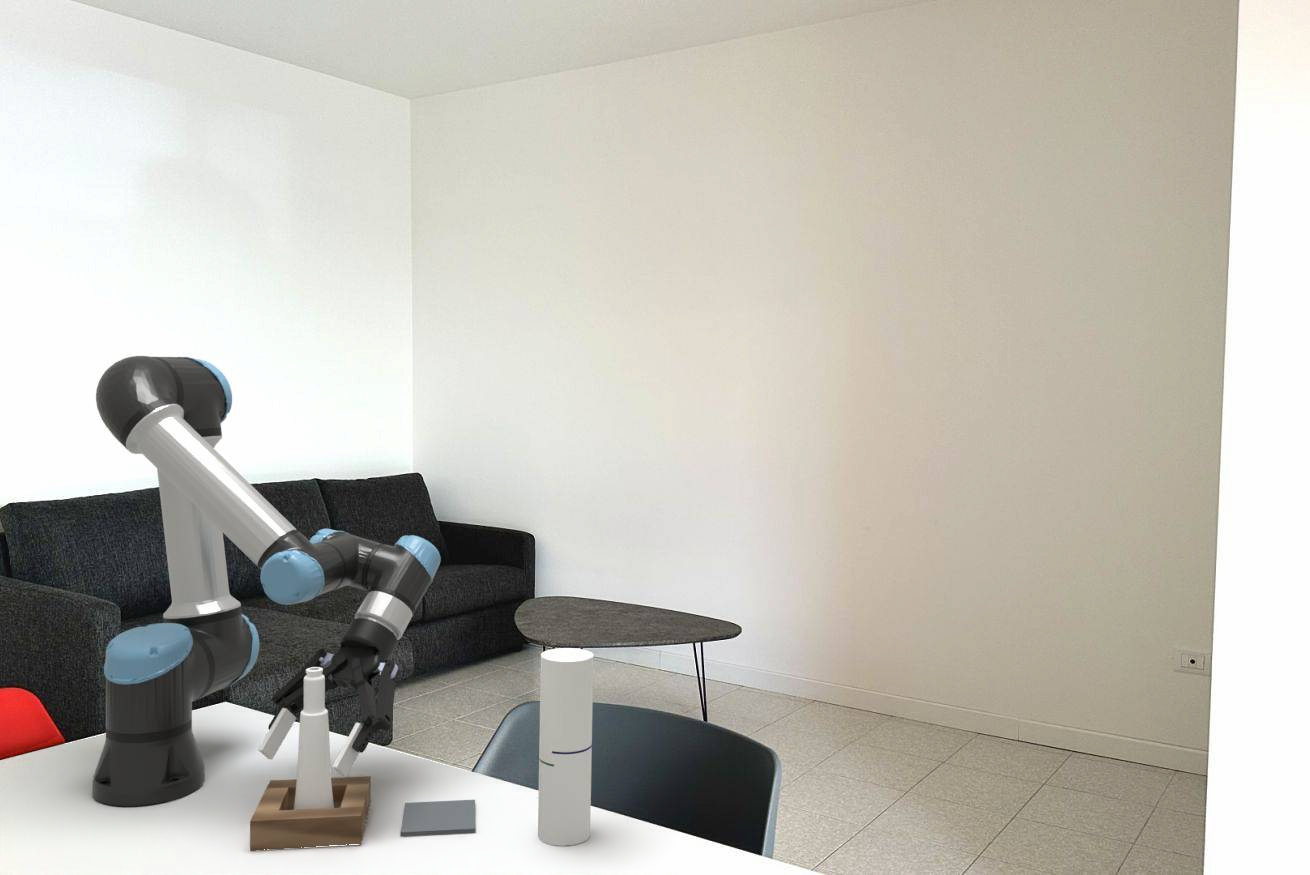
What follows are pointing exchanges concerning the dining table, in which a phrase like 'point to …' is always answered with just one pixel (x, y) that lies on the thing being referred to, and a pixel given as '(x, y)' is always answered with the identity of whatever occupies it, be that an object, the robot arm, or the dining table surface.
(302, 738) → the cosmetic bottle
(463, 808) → the mat
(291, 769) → the dining table surface
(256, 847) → the collar
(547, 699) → the cylindrical container
